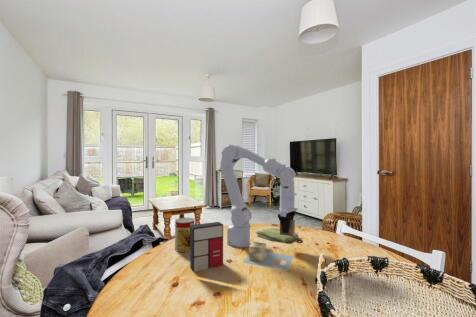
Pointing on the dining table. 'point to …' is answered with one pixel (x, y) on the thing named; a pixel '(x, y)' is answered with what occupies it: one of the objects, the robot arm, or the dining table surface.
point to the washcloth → (276, 235)
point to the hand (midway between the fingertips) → (287, 230)
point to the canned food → (183, 234)
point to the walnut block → (291, 229)
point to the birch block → (257, 251)
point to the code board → (273, 261)
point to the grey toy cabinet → (206, 246)
